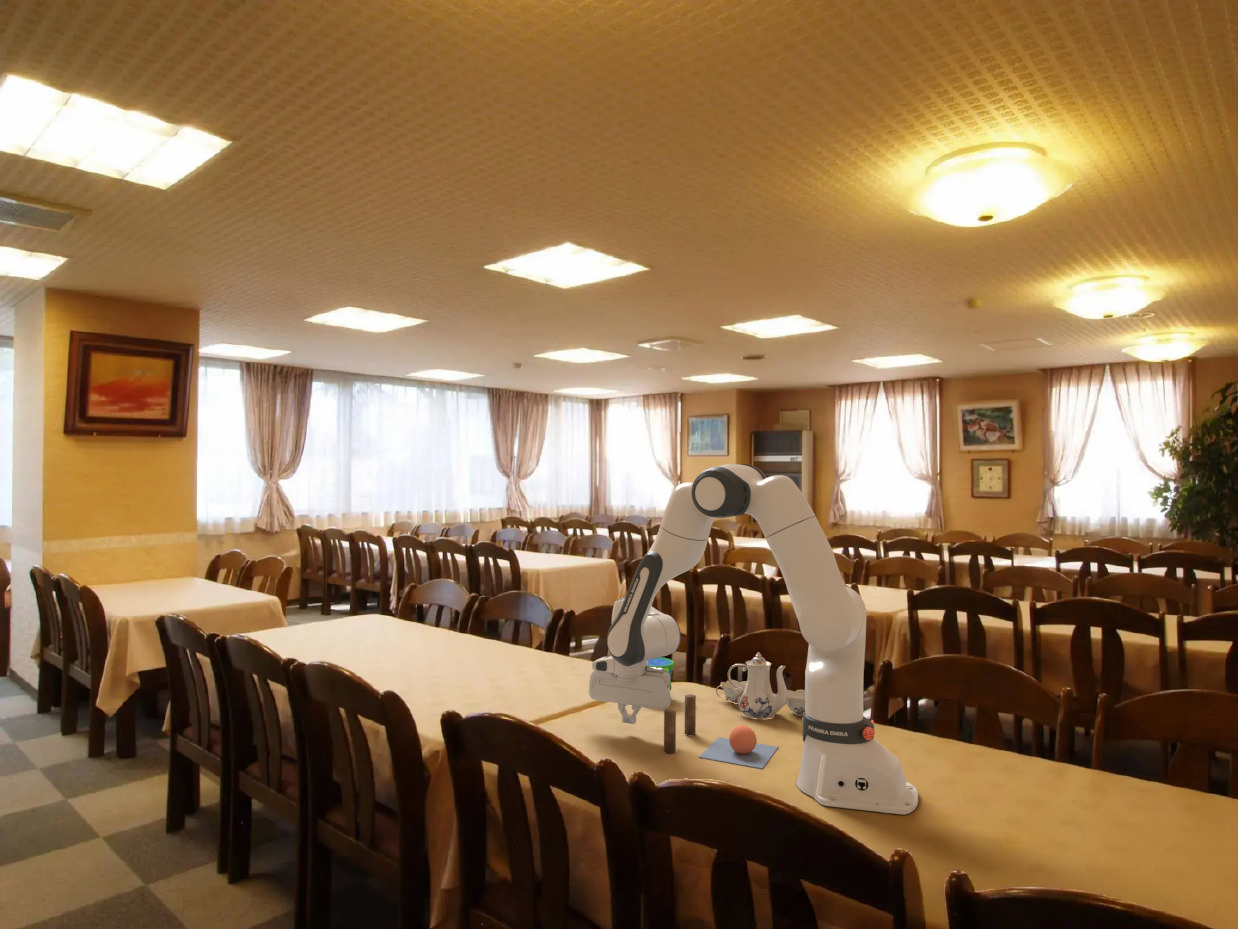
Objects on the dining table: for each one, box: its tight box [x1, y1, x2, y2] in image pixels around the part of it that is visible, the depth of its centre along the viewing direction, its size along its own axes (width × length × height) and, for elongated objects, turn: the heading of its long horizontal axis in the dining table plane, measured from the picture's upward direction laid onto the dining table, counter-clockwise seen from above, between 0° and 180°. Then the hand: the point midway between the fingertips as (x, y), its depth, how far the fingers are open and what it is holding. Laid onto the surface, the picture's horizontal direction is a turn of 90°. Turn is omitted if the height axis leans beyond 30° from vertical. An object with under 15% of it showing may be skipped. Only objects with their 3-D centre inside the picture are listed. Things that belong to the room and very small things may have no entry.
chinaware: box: [715, 651, 805, 719], centre depth 193 cm, size 28×17×17 cm, turn 64°
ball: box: [728, 725, 758, 754], centre depth 162 cm, size 6×6×6 cm
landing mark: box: [698, 736, 779, 770], centre depth 163 cm, size 14×14×1 cm
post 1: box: [663, 708, 677, 755], centre depth 163 cm, size 3×3×9 cm
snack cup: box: [648, 656, 675, 692], centre depth 204 cm, size 16×10×10 cm
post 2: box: [684, 693, 697, 736], centre depth 175 cm, size 3×3×9 cm
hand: (629, 722), depth 174 cm, fingers closed
